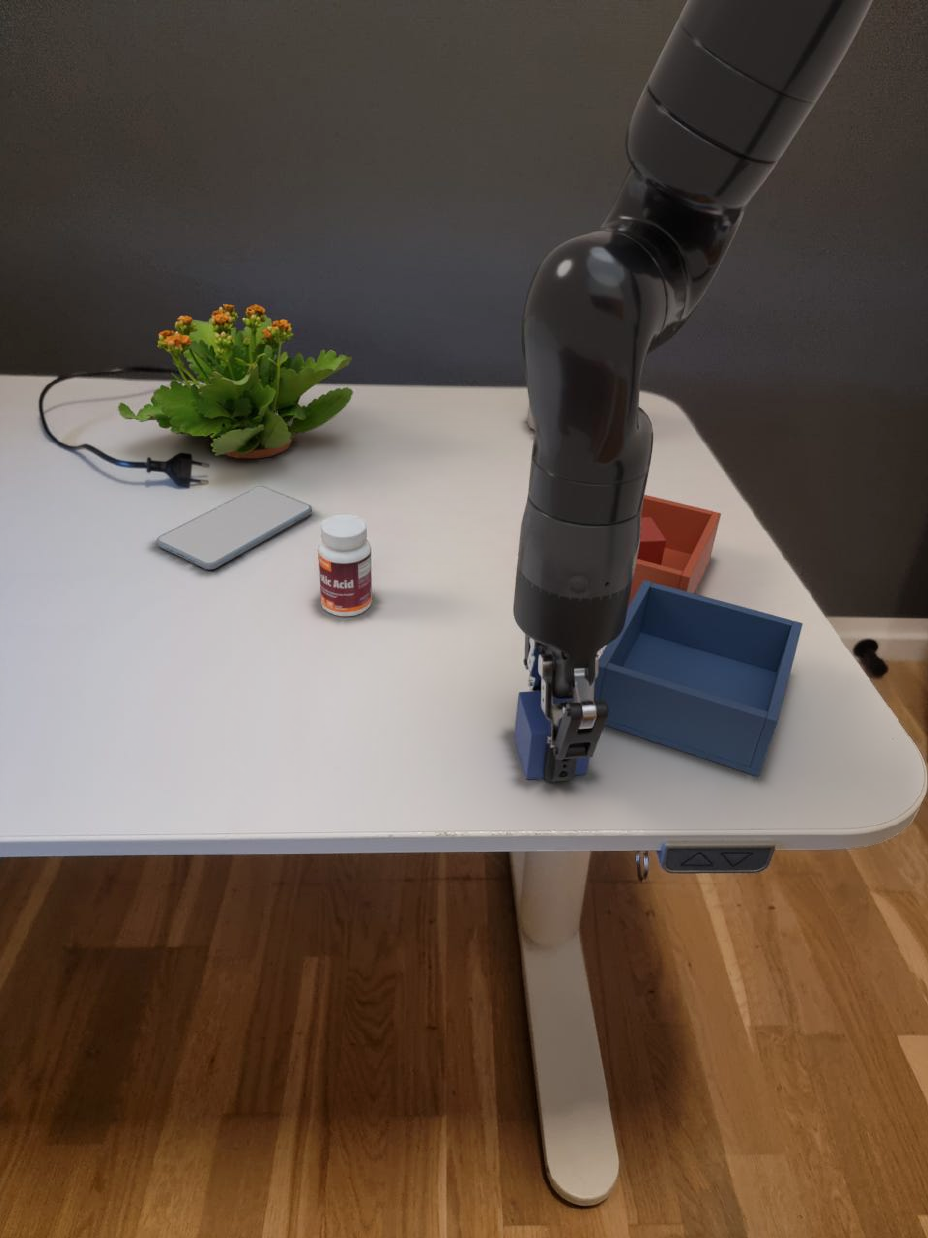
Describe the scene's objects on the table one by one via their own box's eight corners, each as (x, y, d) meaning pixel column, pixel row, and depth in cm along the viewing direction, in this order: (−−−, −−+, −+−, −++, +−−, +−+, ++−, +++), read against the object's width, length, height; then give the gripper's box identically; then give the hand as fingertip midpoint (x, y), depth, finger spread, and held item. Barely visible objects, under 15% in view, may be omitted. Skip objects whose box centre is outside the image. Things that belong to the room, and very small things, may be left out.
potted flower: (250, 392, 122) (236, 262, 112) (393, 430, 113) (392, 293, 103) (114, 456, 104) (83, 307, 94) (272, 507, 95) (256, 350, 85)
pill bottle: (311, 610, 80) (305, 530, 75) (336, 584, 83) (332, 507, 78) (357, 623, 78) (354, 543, 73) (381, 596, 82) (379, 518, 77)
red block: (643, 556, 89) (651, 516, 86) (658, 580, 85) (666, 540, 83) (600, 558, 88) (606, 518, 86) (613, 582, 85) (620, 542, 82)
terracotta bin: (709, 560, 90) (721, 512, 87) (678, 628, 80) (690, 577, 77) (585, 528, 94) (592, 481, 91) (541, 588, 84) (546, 539, 81)
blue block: (571, 732, 68) (578, 687, 65) (586, 775, 64) (594, 729, 61) (513, 736, 67) (518, 691, 64) (526, 780, 63) (531, 734, 61)
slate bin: (785, 675, 75) (803, 622, 72) (758, 777, 65) (777, 721, 61) (633, 630, 79) (643, 579, 76) (586, 719, 69) (595, 664, 66)
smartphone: (152, 538, 87) (260, 483, 97) (153, 547, 88) (261, 491, 98) (209, 566, 83) (315, 506, 93) (210, 574, 84) (316, 514, 94)
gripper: (670, 623, 50) (625, 821, 60) (601, 506, 62) (573, 688, 72) (544, 630, 49) (520, 830, 59) (498, 509, 61) (484, 694, 71)
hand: (549, 751), depth 65 cm, fingers closed on blue block, 4 cm apart
